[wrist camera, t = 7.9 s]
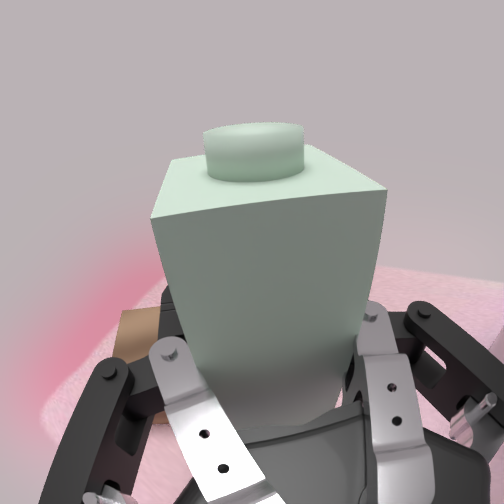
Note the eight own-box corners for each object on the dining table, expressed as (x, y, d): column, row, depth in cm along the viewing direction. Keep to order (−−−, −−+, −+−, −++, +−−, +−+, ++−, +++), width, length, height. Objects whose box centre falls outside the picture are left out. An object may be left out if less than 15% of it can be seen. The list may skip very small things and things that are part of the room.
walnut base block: (140, 348, 30) (122, 310, 27) (224, 338, 31) (217, 298, 28) (133, 424, 21) (105, 392, 18) (237, 416, 23) (228, 383, 19)
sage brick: (221, 379, 15) (167, 130, 8) (300, 364, 15) (308, 116, 9) (232, 451, 11) (137, 163, 4) (324, 432, 12) (391, 141, 5)
